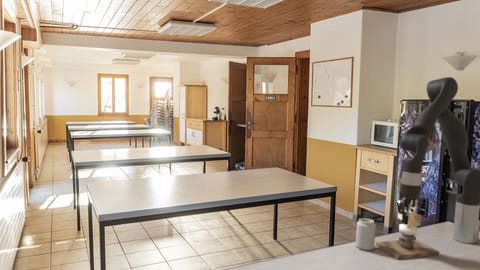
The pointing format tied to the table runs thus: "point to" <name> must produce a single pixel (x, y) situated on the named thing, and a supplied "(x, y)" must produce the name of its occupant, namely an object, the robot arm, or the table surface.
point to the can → (365, 234)
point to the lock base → (406, 252)
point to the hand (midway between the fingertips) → (408, 223)
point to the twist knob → (410, 224)
